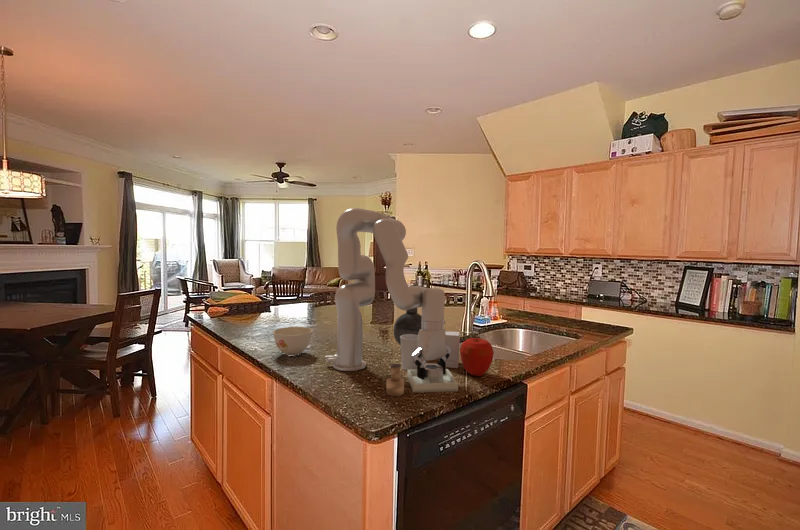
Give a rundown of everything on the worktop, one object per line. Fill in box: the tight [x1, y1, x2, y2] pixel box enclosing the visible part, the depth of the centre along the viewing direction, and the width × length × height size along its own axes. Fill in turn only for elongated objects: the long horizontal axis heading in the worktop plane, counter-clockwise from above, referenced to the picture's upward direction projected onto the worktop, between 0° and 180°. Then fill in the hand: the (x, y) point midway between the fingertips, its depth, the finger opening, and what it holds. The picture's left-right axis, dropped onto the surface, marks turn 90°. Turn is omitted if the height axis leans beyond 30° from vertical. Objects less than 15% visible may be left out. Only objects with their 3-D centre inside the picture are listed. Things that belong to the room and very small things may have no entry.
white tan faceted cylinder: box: [385, 363, 405, 397], centre depth 120 cm, size 6×6×9 cm
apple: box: [459, 336, 495, 377], centre depth 138 cm, size 12×12×14 cm
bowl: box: [272, 326, 314, 356], centre depth 160 cm, size 16×16×10 cm
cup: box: [400, 334, 418, 371], centre depth 145 cm, size 8×8×12 cm
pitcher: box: [393, 283, 422, 346], centre depth 167 cm, size 11×19×30 cm, turn 73°
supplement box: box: [445, 330, 461, 369], centre depth 150 cm, size 7×7×13 cm
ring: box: [421, 363, 443, 384], centre depth 129 cm, size 9×7×5 cm
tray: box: [406, 368, 459, 393], centre depth 129 cm, size 15×15×2 cm
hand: (431, 375), depth 129 cm, fingers open, 8 cm apart
